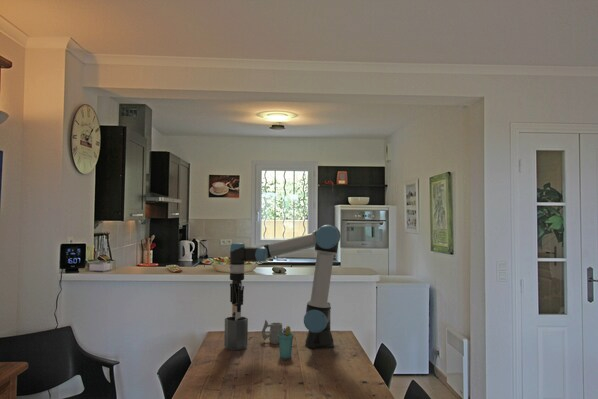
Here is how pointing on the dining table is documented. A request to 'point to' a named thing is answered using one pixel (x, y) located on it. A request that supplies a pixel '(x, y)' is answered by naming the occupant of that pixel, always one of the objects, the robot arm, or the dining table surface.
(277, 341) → the mug
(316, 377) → the dining table surface
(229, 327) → the press body
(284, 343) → the cup
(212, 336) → the dining table surface
